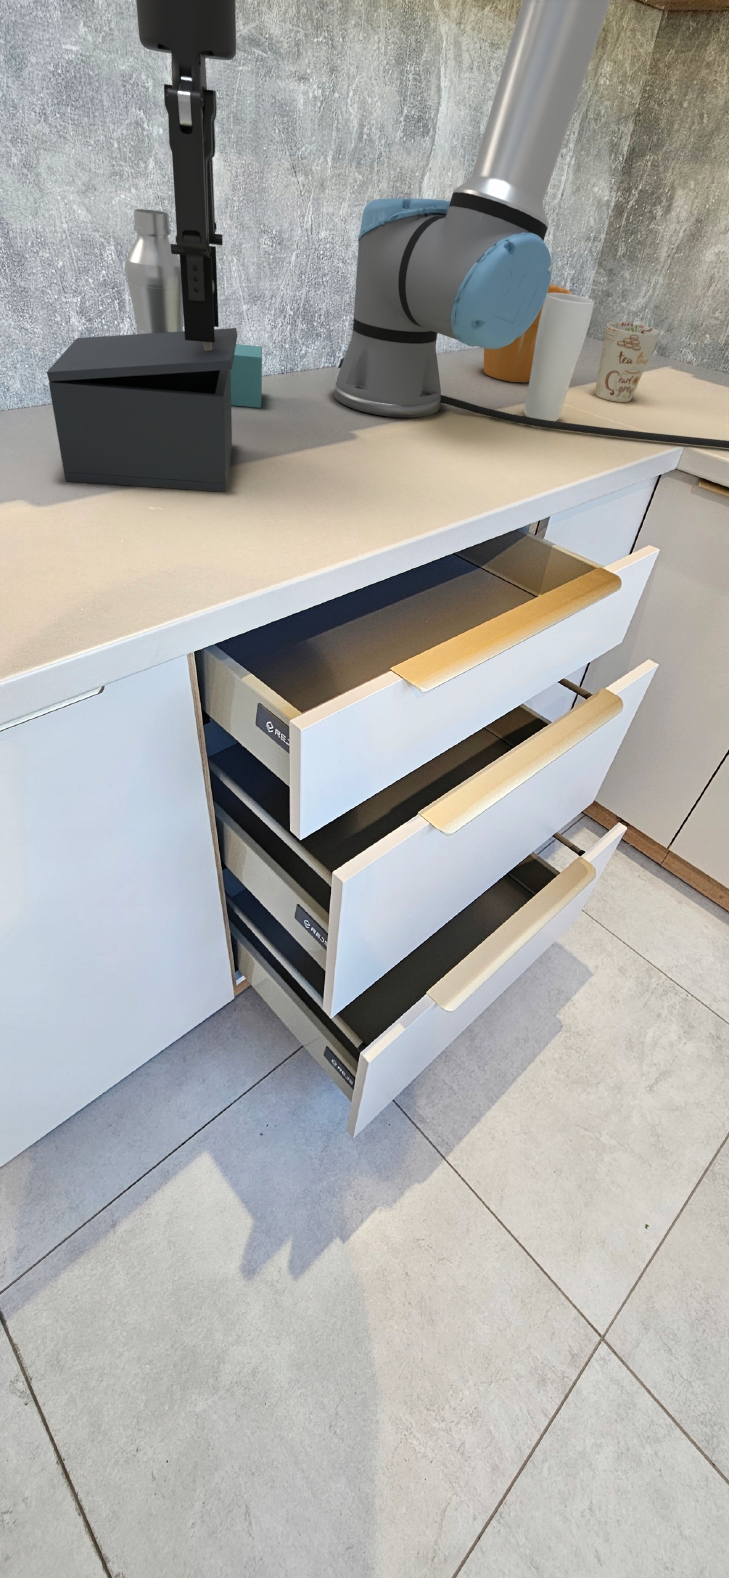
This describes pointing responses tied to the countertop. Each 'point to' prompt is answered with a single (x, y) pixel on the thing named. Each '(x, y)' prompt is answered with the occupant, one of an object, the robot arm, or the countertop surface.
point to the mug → (623, 359)
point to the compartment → (146, 429)
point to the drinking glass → (556, 353)
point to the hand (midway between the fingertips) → (202, 332)
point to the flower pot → (516, 353)
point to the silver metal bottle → (154, 275)
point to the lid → (143, 355)
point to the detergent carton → (246, 376)
